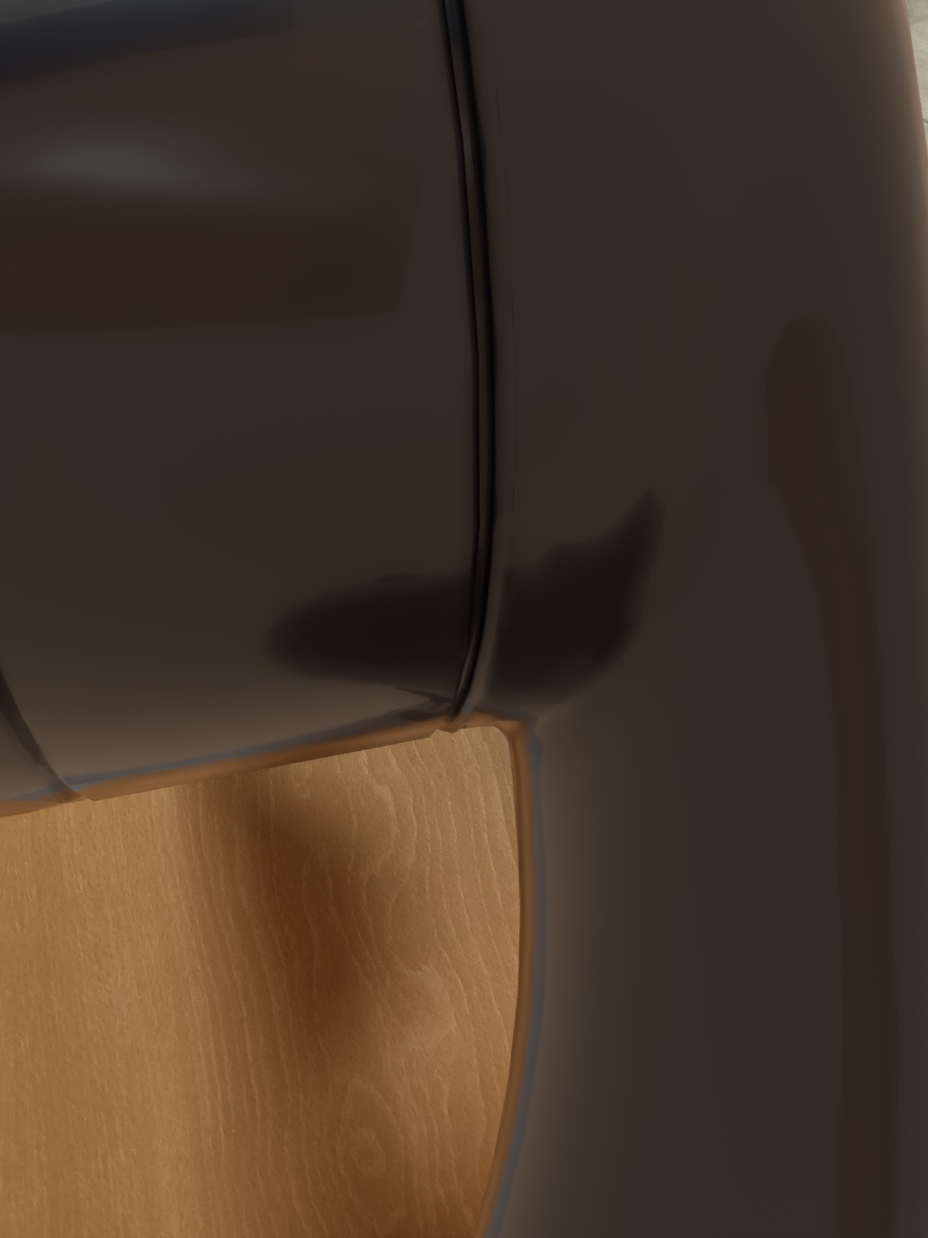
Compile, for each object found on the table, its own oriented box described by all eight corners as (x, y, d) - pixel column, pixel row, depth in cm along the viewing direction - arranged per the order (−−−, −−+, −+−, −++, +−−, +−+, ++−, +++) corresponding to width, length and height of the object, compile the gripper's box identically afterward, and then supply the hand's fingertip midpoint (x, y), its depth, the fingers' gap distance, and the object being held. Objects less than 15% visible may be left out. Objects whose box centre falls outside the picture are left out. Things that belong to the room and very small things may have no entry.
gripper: (1098, 1626, 23) (924, 1140, 39) (459, 1461, 25) (539, 1066, 41) (1033, 1883, 25) (891, 1315, 40) (434, 1704, 27) (520, 1233, 43)
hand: (713, 1189), depth 41 cm, fingers open, 8 cm apart
